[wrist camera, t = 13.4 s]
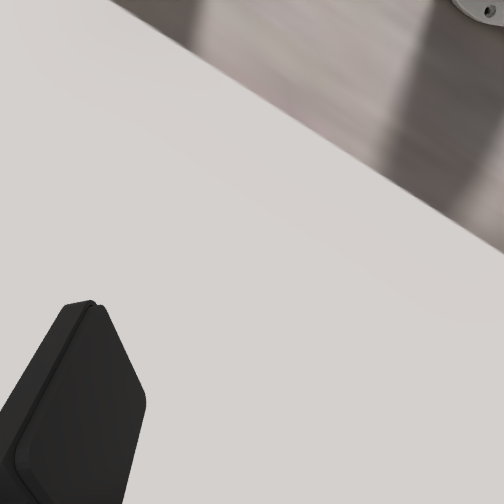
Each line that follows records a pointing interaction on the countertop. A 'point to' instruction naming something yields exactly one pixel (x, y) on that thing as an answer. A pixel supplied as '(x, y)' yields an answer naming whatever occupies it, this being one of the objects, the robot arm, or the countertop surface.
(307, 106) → the countertop surface
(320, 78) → the countertop surface
